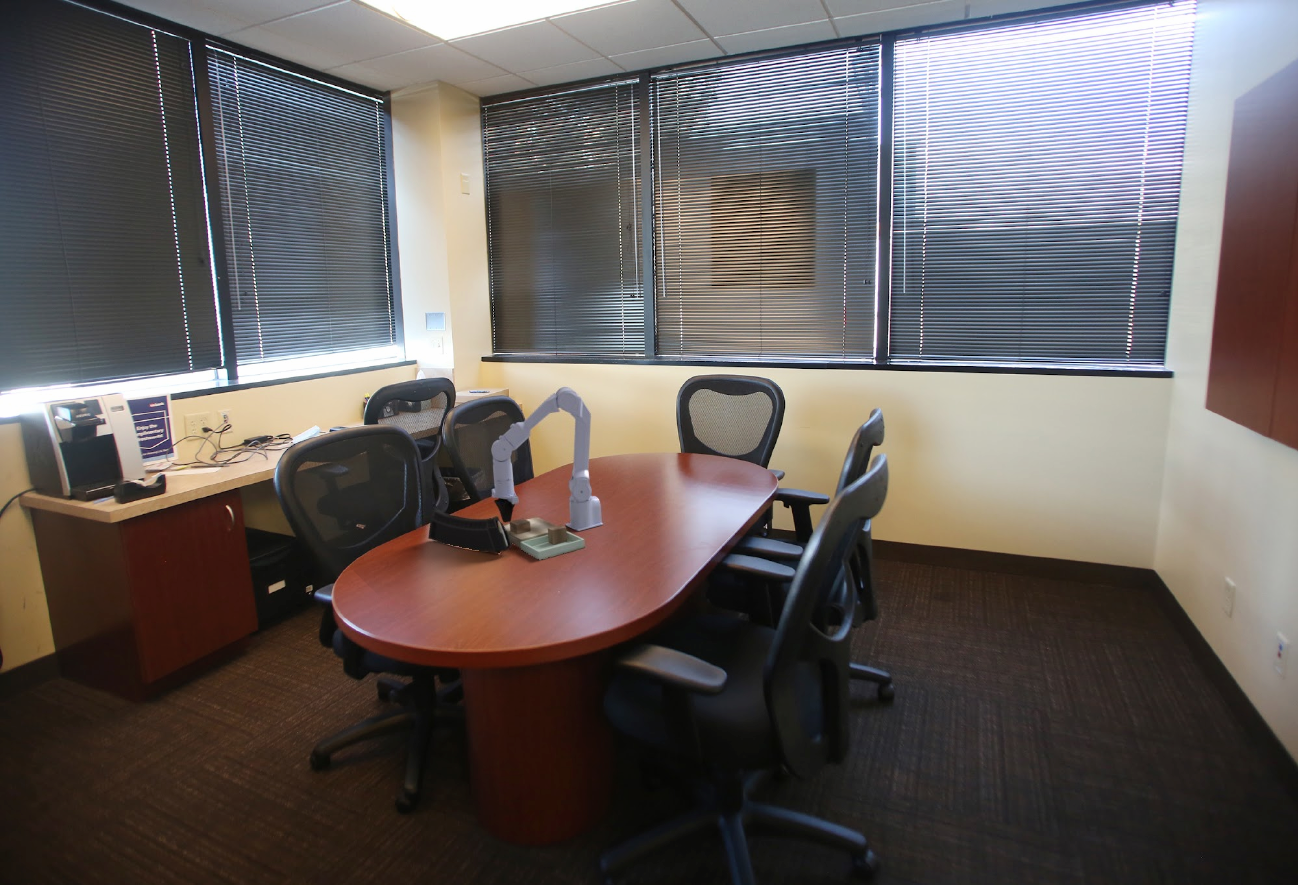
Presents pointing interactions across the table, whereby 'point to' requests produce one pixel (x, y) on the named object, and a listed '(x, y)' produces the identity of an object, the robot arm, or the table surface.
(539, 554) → the box
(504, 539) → the magazine
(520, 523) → the walnut block
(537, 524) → the maple board
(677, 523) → the table surface
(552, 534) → the walnut block
